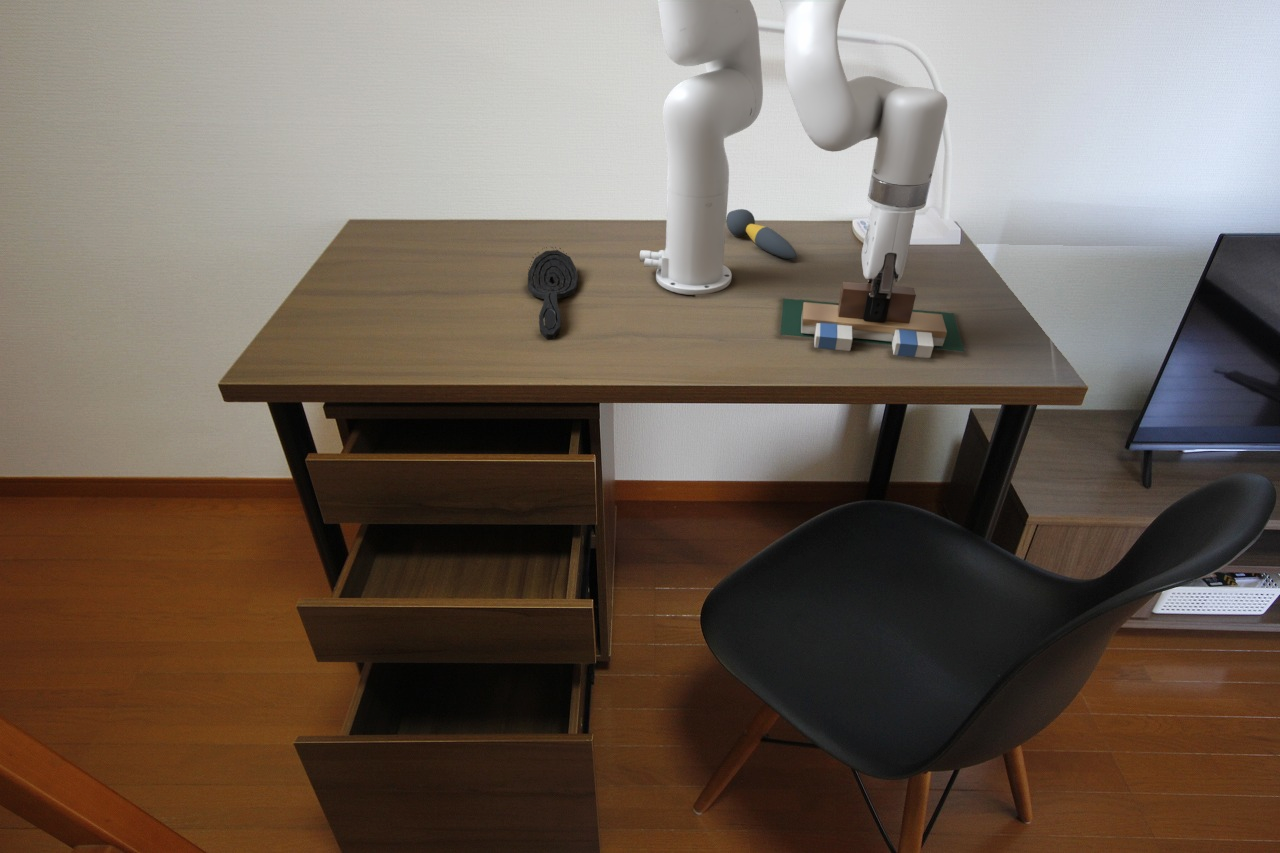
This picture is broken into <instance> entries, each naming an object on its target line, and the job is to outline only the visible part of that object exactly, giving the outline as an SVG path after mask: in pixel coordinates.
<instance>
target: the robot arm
mask: <svg viewBox="0 0 1280 853" xmlns="http://www.w3.org/2000/svg"><path fill="white" fill-rule="evenodd" d="M846 1H847V0H779V3H780V5H781V9H782V12H783V15H784V31H783V32H784V33H783V55H784V56H783V58H784V59H783V60H784V73H785V79H786V83H787V87H788V91H789V94H790V97H791V100H792V102H793V105H794V107H795V111H796V113H797V116H798V118H799V122H800V123H801V126H802V127H803V129H804V132H805V133H806V135H807V136H808V138H809V139H810V140H811V142H812V143H813V144H814V145H815V146H817V147H818V148H819V149H821V150H824V151H826V152H832V153H833V152H842V151H845V150H847V149H849V148H852V147H853V146H855V145H857V144H859V143H860V142H863V141H866V140H870V139H873V138H877V140H876V146H875V152H874V159H873V164H872V170H871V176H870V181H869V187H868V191H867V198H866V199H867V200H866V201H867V202H868V203H869V204H871V208H870V212H869V216H868V217H869V218H868V222H867V226H866V231H865V235H864V239H863V245H862V250H861V254H860V256H861V266H862V274H863V277H864V278H865V279H866V281H867V284H871V289H870V294H867V298H866V304H865V309H864V314H863V320H864V321H870V322H881V323H884V322H885V321H886V319H887V314H888V309H889V304H890V300H891V292H892V287H893V286H894V282H896V283H898V282H899V281H900V280H902V277H903V275H904V270H905V268H906V263H907V258H908V253H909V248H910V244H911V240H912V234H913V228H914V223H915V218H916V212H917V211H920V210H922V209H924V208H925V207H926V206H927V202H928V197H929V192H930V189H931V188H930V187H931V184H932V178H933V173H934V168H935V165H936V160H937V157H938V152H939V146H940V142H941V139H942V134H943V130H944V125H945V120H946V116H947V112H948V99H947V97H946V96H945V94H944V93H943V92H941V91H938V90H937V89H933V88H929V87H921V86H904V85H901V84H897V83H895V82H893V81H889V80H886V79H884V78H880V77H876V76H871V75H863V76H858V77H856V78H853V79H851V80H849V81H848V78H847V76H846V73H845V70H844V67H843V63H842V60H841V56H840V51H839V45H838V31H839V30H838V27H839V21H840V19H841V18H840V17H841V15H842V11H843V9H844V7H845V4H846ZM657 5H658V14H659V21H660V29H661V30H660V31H661V36H662V42H663V46H664V50H665V53H666V54H667V56H668V58H669V59H670V60H671V61H672V62H673V63H674V64H676V65H678V66H683V67H696V66H699V65H705V72H704V73H701V74H697V75H695V76H692V77H689V78H686V79H684V80H682V81H680V82H679V83H678V84H677V85H675V86H674V87H673V88H672V89H671V90H670V91H669V93H668V95H667V96H666V98H665V100H664V103H663V107H662V116H661V117H662V118H661V119H662V128H663V134H664V139H665V149H666V161H667V162H666V163H667V164H666V165H667V167H666V168H667V171H666V172H667V175H666V177H667V178H666V179H667V180H666V187H667V188H666V226H665V228H666V230H665V248H664V249H659V250H658V251H652V250H645V249H643V250H642V249H641V250H640V252H639V263H640V262H641V263H643V266H644V268H657V269H656V270H655V280H656V282H657V283H658V285H659V286H660V287H662V288H663V289H665V290H667V291H669V292H671V293H676V294H681V295H686V296H687V295H688V296H696V295H707V294H713V293H716V292H719V291H721V290H724V289H726V288H728V287H729V285H730V284H731V283H732V276H733V275H732V271H731V269H730V268H729V267H727V266H726V265H724V256H725V243H726V230H727V229H726V228H727V221H726V219H727V215H728V202H729V199H728V198H729V185H730V184H729V183H730V166H729V159H728V156H727V152H726V149H725V139H726V138H728V137H731V136H733V135H736V134H737V133H740V132H742V131H744V130H746V129H748V128H749V127H750V126H752V125H753V124H754V122H756V121H757V119H758V117H759V116H760V113H761V110H762V106H763V100H764V98H763V97H764V86H763V84H764V82H763V71H762V70H763V69H762V58H761V44H760V33H759V32H760V31H759V22H758V18H757V17H758V16H757V14H756V10H755V7H754V5H753V4H752V1H751V0H657ZM876 285H877V286H876Z"/></svg>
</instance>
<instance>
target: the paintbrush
mask: <svg viewBox="0 0 1280 853" xmlns="http://www.w3.org/2000/svg"><path fill="white" fill-rule="evenodd" d="M755 222H756V220H755V216H754V214H753V213H752V212H751V211H750V210H748V209H744V208H738V209H734V210H731V211H729V212H727V216H726V227H727V229H728V231H729V233H730V234H732V235H733V236H735V237H737V238H742V237H747V236H749V238H750V240H752V242H753V243H754V244H755V245H756V246H757V247H758V248H760V249H761V250H763V251H765V252H766V253H769V254H771V255H773V256H776V257H779V258H782V259H784V260H791V261H792V260H796V259H797V258H798V253H797V252H796V249H795V247H794V246H793V245H792V244H791V243H790V242H788V240H787V239H786V238H784V236H782V235H781V234H779V233H778V232H777V231H775V230H773V229H772V228H770V227H769V226H764V225H759V224H756V223H755Z"/></svg>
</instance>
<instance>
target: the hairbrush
mask: <svg viewBox="0 0 1280 853" xmlns="http://www.w3.org/2000/svg"><path fill="white" fill-rule="evenodd" d="M554 248H555V249H554ZM543 249H544V250H545V251H544V250H542V251H543V252H541V253H540V251H537V252H536V253H534V255H535V256H536V257H534V256H532V259H534V260H531V263H532V264H531V263H529V265H530V266H528V269H527V270H528V272H527V290H528V291H529V293H530V294H531V295H532V296H533V297H535V298H539V299H543V303H542V305H541V306H542V307H541V309H540V312H539V315H538V326H539V332H540V335H541V336H542V337H543V338H545V339H546V340H554V339H555V338H556V337H557V335H559V333H560V332H561V327H562V315H561V311H560V308H559V305H558V299H563V298H566V297H570V296H572V294H574V292H575V291H577V288H578V285H579V276H578V270H577V267H576V265H575V263H574V261H573V260H572V258H571V256H569V255H568V254H567V252H566V253H565V251H564V250H563V251H561V250H562V248H561V247H559V250H558V249H557V247H556V246H555V247H553V246H551V250H546V249H548V248H547V246H546V247H543ZM537 254H538V256H537Z"/></svg>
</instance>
